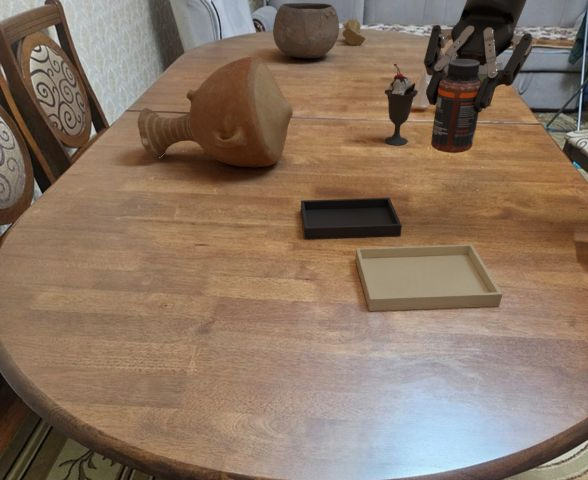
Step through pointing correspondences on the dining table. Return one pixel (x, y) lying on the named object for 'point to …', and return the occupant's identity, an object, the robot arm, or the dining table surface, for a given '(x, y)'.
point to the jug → (227, 117)
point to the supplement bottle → (456, 107)
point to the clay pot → (306, 29)
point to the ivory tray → (425, 278)
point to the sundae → (399, 105)
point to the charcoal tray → (349, 218)
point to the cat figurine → (353, 32)
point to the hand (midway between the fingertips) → (453, 104)
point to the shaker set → (421, 91)
